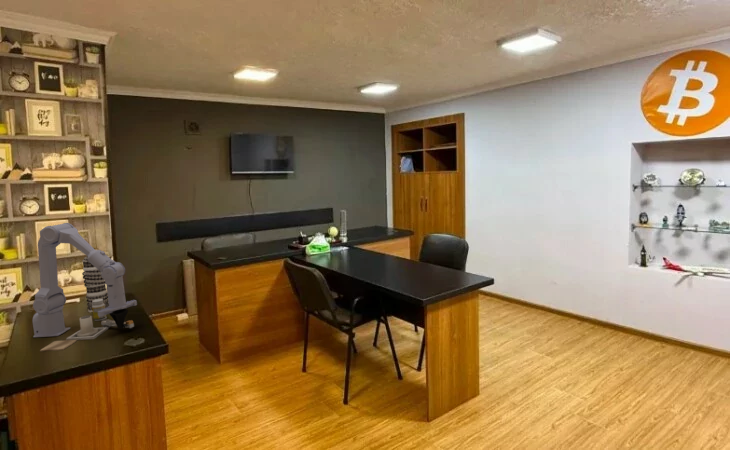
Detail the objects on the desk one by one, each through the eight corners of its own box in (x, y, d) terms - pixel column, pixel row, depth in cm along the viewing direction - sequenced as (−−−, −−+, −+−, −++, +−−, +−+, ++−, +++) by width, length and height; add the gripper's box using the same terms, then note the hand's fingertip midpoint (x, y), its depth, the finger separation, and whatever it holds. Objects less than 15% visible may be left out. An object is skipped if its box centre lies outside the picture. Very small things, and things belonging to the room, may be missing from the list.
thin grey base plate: (100, 329, 170) (100, 325, 170) (104, 326, 173) (104, 322, 172) (108, 328, 170) (107, 324, 170) (111, 326, 173) (111, 322, 172)
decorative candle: (115, 307, 198) (108, 254, 194) (95, 313, 189) (88, 258, 186) (102, 305, 201) (95, 253, 198) (82, 311, 193) (75, 257, 190)
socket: (66, 340, 159) (66, 338, 159) (82, 330, 169) (81, 328, 169) (93, 338, 160) (93, 336, 160) (108, 329, 170) (107, 327, 170)
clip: (128, 328, 165) (127, 322, 164) (99, 324, 170) (99, 319, 170) (135, 325, 167) (134, 320, 167) (106, 322, 173) (105, 316, 173)
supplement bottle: (97, 317, 184) (95, 298, 183) (108, 316, 185) (106, 298, 183) (91, 321, 179) (88, 302, 178) (103, 320, 180) (100, 301, 179)
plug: (73, 338, 161) (70, 320, 160) (84, 331, 168) (81, 314, 167) (92, 337, 161) (89, 319, 160) (101, 330, 168) (99, 313, 167)
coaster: (40, 351, 150) (39, 350, 150) (54, 342, 158) (54, 341, 158) (63, 350, 151) (63, 348, 151) (77, 340, 159) (77, 339, 158)
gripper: (104, 301, 156) (108, 336, 157) (140, 290, 168) (144, 323, 170) (92, 299, 159) (97, 334, 161) (128, 288, 172) (132, 321, 173)
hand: (120, 328), depth 166 cm, fingers closed
